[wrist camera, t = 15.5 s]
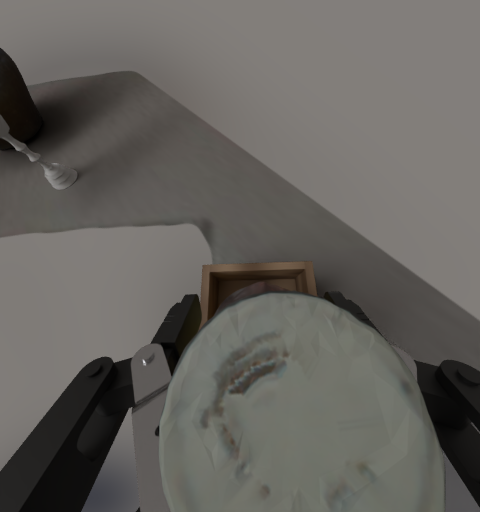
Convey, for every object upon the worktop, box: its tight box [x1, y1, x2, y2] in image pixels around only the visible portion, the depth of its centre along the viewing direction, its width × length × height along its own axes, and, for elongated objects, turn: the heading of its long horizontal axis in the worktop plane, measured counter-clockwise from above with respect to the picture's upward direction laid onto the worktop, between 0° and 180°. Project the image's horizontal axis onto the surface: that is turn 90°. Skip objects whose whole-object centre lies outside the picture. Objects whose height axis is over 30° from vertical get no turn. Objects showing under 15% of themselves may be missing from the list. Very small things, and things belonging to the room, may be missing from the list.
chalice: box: [0, 115, 77, 189], centre depth 25 cm, size 7×7×18 cm
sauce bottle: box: [159, 282, 445, 512], centre depth 12 cm, size 7×6×20 cm
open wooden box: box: [199, 261, 318, 330], centre depth 20 cm, size 12×12×6 cm
